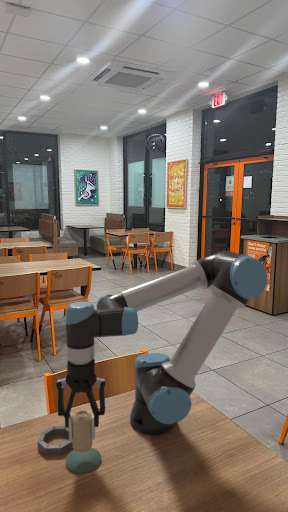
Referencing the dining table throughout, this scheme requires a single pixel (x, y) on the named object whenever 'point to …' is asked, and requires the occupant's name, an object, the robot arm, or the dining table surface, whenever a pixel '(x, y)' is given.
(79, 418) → the candle
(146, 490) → the dining table surface
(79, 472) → the coaster
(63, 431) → the holder ring
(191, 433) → the dining table surface
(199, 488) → the dining table surface
